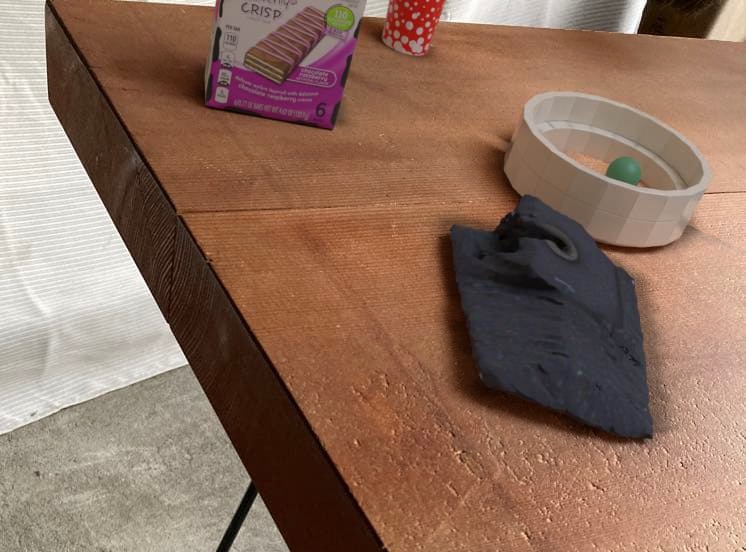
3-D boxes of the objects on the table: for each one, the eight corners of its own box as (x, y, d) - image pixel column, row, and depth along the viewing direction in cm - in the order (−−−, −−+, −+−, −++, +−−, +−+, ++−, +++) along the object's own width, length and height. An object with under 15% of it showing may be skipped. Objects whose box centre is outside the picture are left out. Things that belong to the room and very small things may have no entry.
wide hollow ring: (695, 205, 90) (726, 149, 86) (657, 280, 79) (691, 219, 75) (533, 131, 93) (556, 73, 89) (474, 193, 81) (497, 130, 77)
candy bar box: (204, 110, 80) (236, -120, 68) (202, 81, 83) (233, -142, 71) (337, 133, 83) (390, -83, 71) (330, 105, 86) (380, -106, 74)
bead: (635, 191, 87) (650, 160, 85) (627, 204, 85) (643, 172, 83) (604, 177, 88) (619, 146, 86) (595, 189, 86) (610, 157, 83)
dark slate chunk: (433, 398, 62) (457, 338, 58) (446, 224, 77) (466, 168, 73) (660, 459, 63) (697, 404, 60) (630, 277, 78) (658, 224, 75)
